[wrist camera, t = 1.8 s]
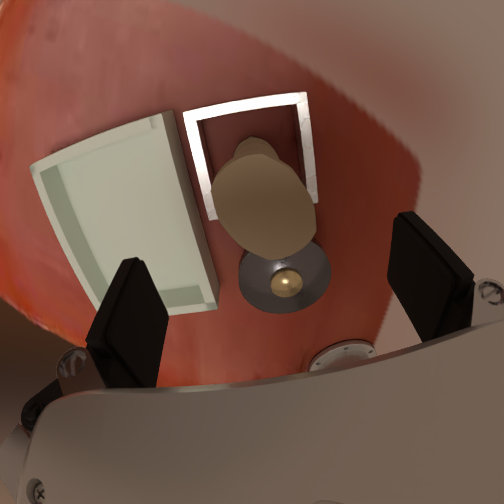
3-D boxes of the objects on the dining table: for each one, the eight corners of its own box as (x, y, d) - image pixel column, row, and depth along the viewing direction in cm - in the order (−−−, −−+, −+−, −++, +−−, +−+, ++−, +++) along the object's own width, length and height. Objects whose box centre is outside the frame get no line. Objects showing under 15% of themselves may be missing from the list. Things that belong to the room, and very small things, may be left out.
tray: (219, 285, 37) (218, 309, 33) (113, 299, 38) (103, 321, 34) (172, 109, 25) (161, 113, 21) (50, 154, 26) (28, 165, 22)
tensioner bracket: (316, 266, 36) (332, 310, 29) (230, 280, 37) (229, 327, 30) (299, 91, 25) (321, 93, 18) (188, 110, 25) (169, 118, 18)
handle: (254, 112, 26) (269, 136, 13) (290, 162, 29) (332, 230, 16) (214, 140, 27) (192, 192, 15) (252, 187, 30) (262, 272, 17)
